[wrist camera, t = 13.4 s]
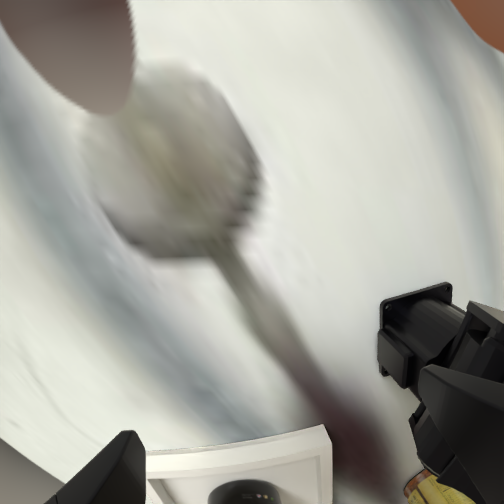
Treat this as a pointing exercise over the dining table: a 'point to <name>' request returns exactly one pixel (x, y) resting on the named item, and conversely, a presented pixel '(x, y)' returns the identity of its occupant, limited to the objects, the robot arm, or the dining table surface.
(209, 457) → the tray
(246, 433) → the dining table surface
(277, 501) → the supplement bottle
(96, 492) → the robot arm
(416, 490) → the sauce bottle
